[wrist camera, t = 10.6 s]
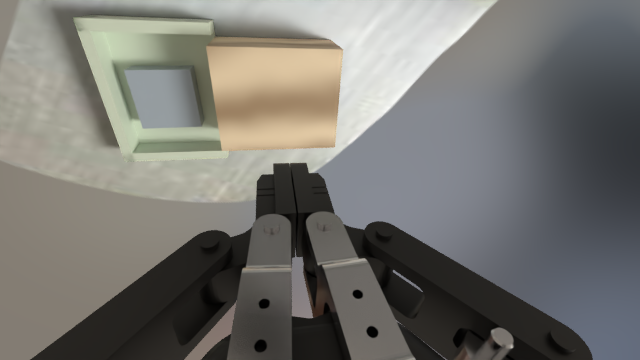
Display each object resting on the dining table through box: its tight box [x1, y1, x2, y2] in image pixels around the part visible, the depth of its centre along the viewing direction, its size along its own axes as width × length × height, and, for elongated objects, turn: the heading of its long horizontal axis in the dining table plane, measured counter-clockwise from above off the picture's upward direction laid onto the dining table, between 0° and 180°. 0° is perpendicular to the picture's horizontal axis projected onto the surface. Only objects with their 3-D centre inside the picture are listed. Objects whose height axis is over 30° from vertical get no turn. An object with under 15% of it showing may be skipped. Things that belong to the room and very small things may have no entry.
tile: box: [124, 65, 205, 129], centre depth 31 cm, size 6×6×2 cm
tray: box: [73, 15, 229, 162], centre depth 31 cm, size 14×11×3 cm
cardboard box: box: [206, 36, 343, 151], centre depth 31 cm, size 10×12×6 cm
